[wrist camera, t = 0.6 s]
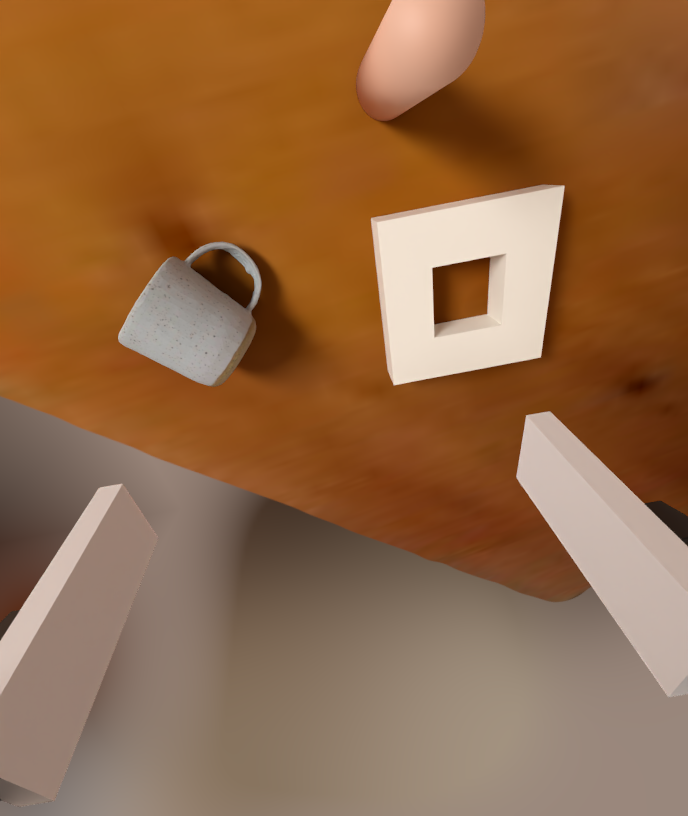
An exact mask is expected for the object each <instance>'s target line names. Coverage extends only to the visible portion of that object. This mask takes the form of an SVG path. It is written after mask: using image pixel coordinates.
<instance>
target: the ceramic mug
mask: <svg viewBox="0 0 688 816" xmlns="http://www.w3.org/2000/svg"><path fill="white" fill-rule="evenodd" d="M215 249H223V250H225V251H227V252H229V253H230V254H231V255H232V256H233V257H235V258H236V259H237V260H238V261H239V262H240V263H241V264H242V265H243V266H244V267H245V269H246V272H247V273H249V274H251V275H252V277H253V278H254V287H255V289H254V292H253V296H252V299H251V301H250V303H249V305H248V306H247V307H246V308H244V307H242V306H241V305H240V304H238V303H237V302H236V301H234V300H233V299H231V298H230V297H229V296H228V295H227V294H225V293H223V292H221V291H220V290H219V289H217V288H216V287H215V286H214V285H212V284H211V283H210V282H209V281H208V280H206V279H205V278H204V277H202V276H201V275H200V274H198V273H197V272H196V271H194V270H193V269H192V268H191V267H190V266H191V264H192V263H193V262H194V261H195V260H196V259H197V258H199V257H200V256H201V255H203V254H204V253H206V252H208V251H211V250H215ZM260 292H261V276H260V273H259V270H258V268H257V265H256V264H255V263H254V261H253V260H252V259H251V258H250V256H249V255H248V254H247V253H246V252H244V251H243V250H242V249H241V248H239V247H237V246H236V245H234V244H231V243H226V242H214V243H209V244H206V245H204V246H202V247H200V248H199V249H197V250H196V251H195V252H193V253H192V254H191V255H190V256H189V257H188V258H187V259H186V260H185V261H181V260H180V259H178V258H177V257H170V258H168V259H167V260H166V261H165V262H164V263H163V264H162V266H161V267H160V268H159V269H158V271H157V272H156V273H155V275H154V276H153V277H152V279H151V280H150V282H149V283H148V284H147V286H146V288H145V289H144V291H143V292H142V293H141V295H140V297H139V298H138V300H137V301H136V303H135V305H134V307H133V308H132V310H131V312H130V313H129V315H128V317H127V319H126V321H125V323H124V325H123V327H122V329H121V331H120V333H119V336H118V339H119V342H120V343H121V344H122V345H124V346H126V347H128V348H130V349H132V350H134V351H137V352H138V353H140V354H142V355H144V356H146V357H148V358H150V359H152V360H154V361H156V362H158V363H160V364H162V365H164V366H166V367H168V368H170V369H172V370H174V371H176V372H178V373H180V374H182V375H184V376H186V377H188V378H190V379H192V380H194V381H196V382H198V383H202V384H205V385H208V386H213V387H215V386H218V385H221V384H222V383H224V382H225V381H226V380H227V379H228V377H229V376H230V375H231V374H232V372H233V371H234V370H235V368H236V367H237V365H238V364H239V362H240V361H241V359H242V357H243V356H244V354H245V352H246V351H247V349H248V347H249V345H250V343H251V341H252V339H253V337H254V335H255V332H256V322H255V319H254V318H253V317H252V315H251V311H252V310H253V308H254V307H255V305H256V304H257V302H258V299H259V296H260Z"/></svg>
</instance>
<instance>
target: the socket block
mask: <svg viewBox="0 0 688 816" xmlns="http://www.w3.org/2000/svg"><path fill="white" fill-rule="evenodd" d="M564 187H565V186H562V185H539V186H533V187H528V188H523V189H518V190H513V191H508V192H503V193H498V194H492V195H487V196H482V197H477V198H472V199H467V200H462V201H457V202H451V203H446V204H441V205H436V206H431V207H426V208H421V209H416V210H410V211H405V212H400V213H395V214H390V215H385V216H380V217H374V218H371V224H372V233H373V242H374V251H375V260H376V269H377V278H378V287H379V296H380V304H381V313H382V322H383V331H384V340H385V349H386V358H387V367H388V372H389V375H390V377H391V379H392V382H393V384H394V385H397V384H403V383H408V382H413V381H419V380H424V379H429V378H435V377H440V376H445V375H450V374H456V373H461V372H466V371H472V370H477V369H482V368H488V367H493V366H498V365H503V364H509V363H514V362H519V361H525V360H530V359H535V358H541V353H542V345H543V338H544V331H545V324H546V317H547V310H548V302H549V295H550V288H551V281H552V274H553V266H554V259H555V252H556V245H557V238H558V231H559V223H560V216H561V209H562V202H563V195H564ZM486 257H490V272H489V292H488V313H487V314H486V315H481V316H476V317H470V318H465V319H460V320H455V321H449V322H444V323H439V324H434V309H433V278H432V268H434V267H439V266H444V265H449V264H454V263H460V262H465V261H470V260H475V259H480V258H486Z"/></svg>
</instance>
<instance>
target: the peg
mask: <svg viewBox="0 0 688 816" xmlns="http://www.w3.org/2000/svg"><path fill="white" fill-rule="evenodd" d="M484 23H485V2H484V0H392V2H391V4H390V6H389V8H388V10H387V12H386V14H385V16H384V18H383V20H382V22H381V24H380V26H379V28H378V30H377V32H376V34H375V36H374V38H373V40H372V42H371V44H370V46H369V48H368V50H367V52H366V54H365V56H364V58H363V60H362V62H361V64H360V67H359V70H358V73H357V79H356V90H357V96H358V100H359V102H360V104H361V106H362V108H363V110H364V111H365V112H366V113H367V114H368V115H369V116H370V117H372V118H373V119H376V120H379V121H389V120H392V119H394V118H396V117H397V116H399V115H401V114H402V113H404V112H405V111H407V110H408V109H410V108H412V107H413V106H415V105H416V104H418V103H419V102H421V101H423V100H424V99H426V98H427V97H429V96H430V95H432V94H434V93H435V92H437V91H438V90H440V89H441V88H443V87H445V86H446V85H448V84H449V83H451V82H452V81H454V80H455V79H457V78H458V77H459V76H460V75H461V74H462V73H463V72H464V71H465V70H466V69H467V67H468V66H469V65H470V63H471V62H472V60H473V58H474V56H475V54H476V52H477V50H478V47H479V45H480V42H481V38H482V34H483V29H484Z"/></svg>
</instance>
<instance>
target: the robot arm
mask: <svg viewBox="0 0 688 816" xmlns="http://www.w3.org/2000/svg"><path fill="white" fill-rule="evenodd" d="M516 478H517V479H518V481H519V482H520V483H521V485H522V486H523V488H524V489H525V491H526V492H527V494H528V495H529V496H530V498H531V499H532V501H533V502H534V504H535V505H536V507H537V508H538V509H539V511H540V512H541V514H542V515H543V517H544V518H545V520H546V521H547V523H548V524H549V525H550V527H551V528H552V530H553V531H554V533H555V534H556V536H557V537H558V538H559V540H560V541H561V543H562V544H563V546H564V547H565V549H566V550H567V551H568V553H569V554H570V556H571V557H572V559H573V560H574V562H575V563H576V564H577V566H578V567H579V569H580V570H581V572H582V573H583V575H584V576H585V577H586V579H587V580H588V582H589V583H590V585H591V586H592V588H593V589H594V590H595V592H596V593H597V595H598V596H599V598H600V599H601V601H602V602H603V603H604V605H605V606H606V608H607V609H608V611H609V612H610V613H611V615H612V616H613V618H614V619H615V621H616V622H617V624H618V625H619V627H620V628H621V629H622V631H623V632H624V634H625V635H626V637H627V638H628V640H629V641H630V642H631V644H632V645H633V647H634V648H635V650H636V651H637V653H638V654H639V655H640V657H641V658H642V660H643V661H644V663H645V664H646V666H647V667H648V668H649V670H650V671H651V673H652V674H653V676H654V677H655V679H656V680H657V681H658V683H659V684H660V685H661V687H662V689H663V690H664V692H665V693H666V694H667V696H668V697H672V696H679V695H685V694H688V517H687V516H686V515H685V514H683V513H681V512H679V511H678V510H676V509H674V508H672V507H671V506H669V505H667V504H665V503H663V502H662V501H656V502H650V503H643V502H642V501H641V500H640V499H639V498H638V497H637V496H636V495H635V494H634V493H633V492H632V491H631V490H630V489H629V488H628V487H627V486H626V485H625V484H623V483H622V482H621V481H620V480H619V479H618V478H617V477H616V476H615V475H614V474H613V473H612V472H611V471H610V470H609V469H608V468H607V467H606V466H605V465H604V464H603V463H602V462H601V461H600V460H599V459H598V458H597V457H596V456H595V455H594V454H593V453H592V452H591V451H590V450H589V449H588V448H587V447H586V446H585V445H584V444H583V443H582V442H581V441H580V440H579V439H578V438H577V437H576V436H574V435H573V434H572V433H571V432H570V431H569V430H568V429H567V428H566V427H565V426H564V425H563V424H562V423H561V422H560V421H559V420H558V419H557V418H556V417H555V416H554V415H553V414H552V413H551V412H550V411H549V412H544V413H538V414H532V415H526V421H525V427H524V433H523V439H522V446H521V452H520V458H519V464H518V471H517V477H516ZM157 540H158V537H157V535H156V534H155V532H154V531H153V529H152V527H151V526H150V525H149V523H148V521H147V520H146V518H145V517H144V515H143V514H142V512H141V511H140V509H139V508H138V506H137V505H136V503H135V502H134V500H133V499H132V497H131V496H130V494H129V493H128V491H127V489H126V488H125V487H124V485H123V484H119V485H113V486H107V487H101V488H99V489H98V491H97V492H96V494H95V495H94V497H93V498H92V500H91V501H90V503H89V504H88V506H87V507H86V509H85V511H84V512H83V514H82V515H81V517H80V518H79V520H78V521H77V523H76V524H75V526H74V528H73V529H72V531H71V532H70V534H69V535H68V537H67V538H66V540H65V542H64V543H63V545H62V546H61V548H60V549H59V551H58V552H57V554H56V556H55V557H54V559H53V560H52V562H51V563H50V565H49V567H48V568H47V570H46V571H45V573H44V574H43V576H42V577H41V579H40V580H39V582H38V583H37V585H36V586H35V588H34V590H33V591H32V593H31V594H30V596H29V597H28V599H27V600H26V602H25V604H24V605H23V607H22V608H21V610H18V611H12V612H10V613H9V614H8V616H6V618H4V619H3V621H2V622H0V800H1V801H4V802H7V803H9V804H12V805H15V806H18V807H21V806H27V805H33V804H39V803H45V802H51V801H55V798H56V796H57V793H58V791H59V788H60V786H61V783H62V780H63V778H64V775H65V773H66V770H67V768H68V765H69V763H70V760H71V758H72V755H73V753H74V750H75V748H76V745H77V743H78V740H79V737H80V735H81V732H82V730H83V727H84V725H85V722H86V720H87V717H88V715H89V712H90V710H91V707H92V705H93V702H94V700H95V697H96V694H97V692H98V689H99V687H100V685H101V682H102V679H103V677H104V674H105V672H106V669H107V667H108V664H109V662H110V659H111V657H112V654H113V652H114V649H115V647H116V644H117V642H118V639H119V636H120V634H121V631H122V629H123V626H124V624H125V621H126V619H127V616H128V613H129V611H130V609H131V606H132V604H133V601H134V599H135V596H136V594H137V591H138V588H139V586H140V584H141V581H142V578H143V576H144V573H145V571H146V568H147V566H148V563H149V561H150V558H151V556H152V553H153V551H154V548H155V546H156V543H157Z"/></svg>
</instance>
